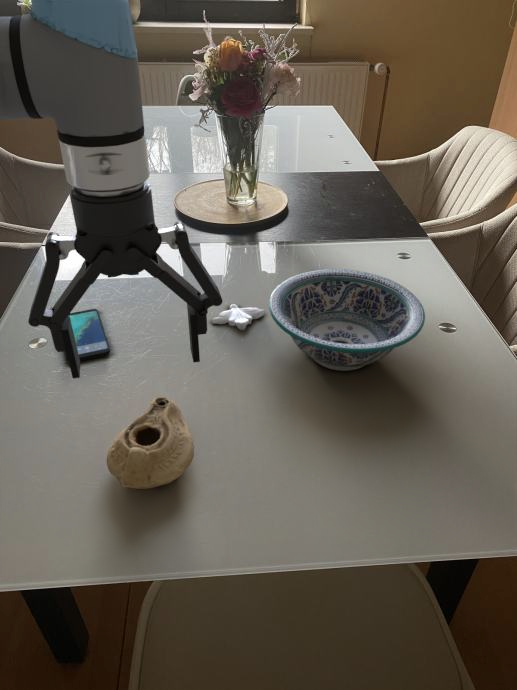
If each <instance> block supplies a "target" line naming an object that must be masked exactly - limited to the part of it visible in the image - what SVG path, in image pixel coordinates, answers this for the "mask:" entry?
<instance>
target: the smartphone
mask: <svg viewBox="0 0 517 690" xmlns="http://www.w3.org/2000/svg"><path fill="white" fill-rule="evenodd" d="M68 316H70V320H71V324H72V329H73V333H74V337H75V342H76V346H77V350H78V355H79V359H80V362H81V361H86V360H90V359H94V358H98V357H99V358H100V357H105V356H108V355H109V354H110V353H111V348H110V345H109V344H110V343H109V342H108V341H109V340H108V339H107V335H106V332H105V327H104V325H103V322H102V319H101V315H100V313H99V310H98V309H97V308H92V309H91V308H90V309H86V310H80V311H75V312H70V314H69V315H68ZM64 352H65V356H66V360H67V361H68V357H67V353H66V351H64Z"/></svg>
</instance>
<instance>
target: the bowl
mask: <svg viewBox="0 0 517 690" xmlns="http://www.w3.org/2000/svg"><path fill="white" fill-rule="evenodd" d="M268 308H269V313H270V316H271V317H272V320H273V321H274V322H275V324H276V325H277V326H278V327H279V328H280V329H281V330H282V331H283V332H285V333H286V334H287V335H288V336H290V337H291V339H292V341H293V342H294V344H295V345H296V346H297V348H299V349H300V350H301V352H303V353H304V354H305V355H306V356H308V357H310V358H311V359H313V361H315V362H316V363H317V364H319V365H320V366H322V367H325V368H327V369H330V370H335V371H342V372H343V371H353V370H359V369H360V368H363V367H364V366H367V365H371V364H373V363H376V362H378V361H380V360H382V359H383V358H385V357H386V356H387V355H388V354H390V352H392V351H393V350H394V349H396V348H398V347H400V346H403V345H405V344H407V343H410V342H411V341H412V340H414V339H415V338H416V336H418V335H419V333H420V332H421V331H422V330H423V327H424V324H425V320H426V313H425V309H424V306H423V305H422V302H421V301H420V300H419V299H418V297H416V295H414V293H413V292H411V291H410V290H408V288H406V287H405V286H402V284H399V283H398V282H396V281H393V280H392V279H389V278H388V277H387V278H386V277H384V276H381V275H377V274H374V273H370V272H366V271H362V270H361V271H360V270H354V269H343V268H331V269H330V268H329V269H328V268H327V269H326V268H325V269H318V270H311V271H306V272H302V273H300V274H296V275H294V276H291V277H289V278H287V279H286V280H284V281H283V282H281V283H280V284H279V285H277V286H276V287H275V289H274V290H273V291H272V292H271V294H270V297H269V301H268Z"/></svg>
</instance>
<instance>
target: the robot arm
mask: <svg viewBox="0 0 517 690" xmlns="http://www.w3.org/2000/svg"><path fill="white" fill-rule="evenodd" d="M30 2H31V3H30V4H31V6H30V9H29V12H30V13H28V14H21V15H13V16H0V121H4V120H29V119H33V120H36V119H37V120H42V119H46V118H48V119H49V118H52V119H53V120H54V124H55V127H56V132H57V138H58V142H59V146H60V147H59V149H60V153H61V158H62V163H63V168H64V173H65V178H66V183H68V184H69V185H70V186H71V188H70V189H69V192H68V193H69V194H68V195H69V199H70V204H71V210H72V214H73V218H74V219H73V220H74V224H75V229H76V233H75V235H74V236H62V235H61V236H60V234H59V233H58V232H56V231H50V232H49V233H48V234H47V235H46V239H45V245H44V249H45V250H44V251H45V263H44V266H43V270H42V273H41V275H40V279H39V282H38V285H37V287H36V291H35V294H34V298H33V300H32V303H31V307H30V311H29V317H28V321H27V323H28V325H30V326H31V327H33V328H34V327H39V326H43V327H46V328H48V329H49V331H50V335H51V339H52V342H53V346H54V349H55V350H56V352H57V353H61V352H65V351H66V352H65V354H66V353H67V357H68V360H67V362H68V365H69V369H70V374H71V377H72V378H71V379H79V378H81V361H80V359H79V355H78V350H77V346H76V342H75V337H74V333H73V329H72V324H71V320H70V316H68V315H69V314H70V313H72V311H73V310H74V308H75V307H76V305H77V304H78V303H79V301H80V300H81V299H82V298H83V296H84V295H85V293H87V291H88V289H89V288H90V286H91V285H93V284H94V283H95V282H96V280H97V279H98V277H99V276H101V275H103V276H107V279H108V278H109V279H110V278H115V277H120V276H122V275H125V276H139V275H140V273H141V272H144V271H145V272H147V273H148V274H149V275H150V276H152V277H153V278H154V279H158V281H160V282H161V284H163V285H165V286H166V287H167V289H169V290H170V291H172V292H173V293H174V294H175V295H176V296H178V297H179V298H180V299H181V300H182V301H184V302H185V303H186V308H187V321H188V335H189V347H190V354H191V357H192V363H200V362H201V357H200V344H199V343H200V342H199V341H200V340H199V336H200V335H207V332H208V317H207V315H208V312H209V311H208V309H209V308H211V307H213V306H214V307H219V306H221V305H222V304H223V298H222V294H221V292H220V289H219V287H218V286H217V285H216V282H215V281H214V279H213V277H212V276H211V274H210V273H209V271H208V270H207V268H206V266H205V265H204V264H203V262H202V260H201V259H200V258H199V255H198V254H197V253H196V251H195V250H194V248H193V247H192V245H191V244H190V240H189V234H188V231H187V228H186V225H185V223H184V222H182V221H176V222H174V223H173V226H171V227H165V228H160V229H159V228H158V225H157V224H156V220H155V212H154V203H153V192H152V185H151V184H150V183H149V182H148V181H147V180H149V178H150V174H151V173H150V163H149V157H148V147H147V137H146V132H145V123H144V120H145V119H144V111H143V101H142V100H143V99H142V89H141V79H140V69H139V57H138V49H137V45H136V44H137V43H136V39H135V31H134V25H133V18H132V13H131V12H132V11H131V5H130V3H129V0H30ZM162 243H166V244H168V246H169V248H170V249H172V250H178V253H179V255H180V258H181V260H182V261H183V263H184V264H185V266H186V267H187V268H188V270H189V271H190V274H191V275H192V276H193V277H194V279H195V280H196V282H197V283H198V285H199V287H201V289H202V291H203V292H202V293H201V292H200V291H199V290H198V289H197V288H196V287H194V286H193V285H192V283H190V282H189V280H186V279H185V277H183V276H182V275H181V274H180V273H179V272H178V271H176V270H175V269H174V268H173V267H172V266H170V265H169V264H168V263H167V262H166V261H165V260H164V259H163V258H162V256H161V255H160V254H159V253H158V250H159V248H160V247H161V246H162ZM72 251H76V253H77V254H78V255H79V256H80V257H82V259H83V260H84V261H83V262H82V264H81V267H80V268H79V269H78V271H77V273H76V274H75V275H74V277H72V280H71V281H70V282H69V284H68V285H67V287H66V288H65V289H64V291H63V292H62V293H61V295H60V296H59V298H58V299H57V300H56V301H55V304H54V305H53V306H50V309H48V308H47V306H48V303H49V300H50V297H51V293H52V291H53V287H54V285H55V281H56V279H57V276H58V273H59V269H60V264H61V261H63V260H66V259H67V258H68V257H69V254H70V252H72ZM67 357H66V358H67Z"/></svg>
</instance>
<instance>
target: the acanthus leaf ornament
mask: <svg viewBox="0 0 517 690" xmlns="http://www.w3.org/2000/svg"><path fill="white" fill-rule="evenodd" d="M264 314H265V309H263V308H260V309H259V308H258V307H239V306H238V305H237V304H236V303H232V304H230V306H229V310H224V311H221V312H220V313H218V315H217V317H216V316H215V317H214V318H213V319H212V323H213V324H217V325H225V324H228V325H229V326H232V327H236V328H237V329H238V330H241V331H245V330H246V329H247V326H248V325H251V324H252V321H253V320H258V319H260V318H261V317H263V316H264Z"/></svg>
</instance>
